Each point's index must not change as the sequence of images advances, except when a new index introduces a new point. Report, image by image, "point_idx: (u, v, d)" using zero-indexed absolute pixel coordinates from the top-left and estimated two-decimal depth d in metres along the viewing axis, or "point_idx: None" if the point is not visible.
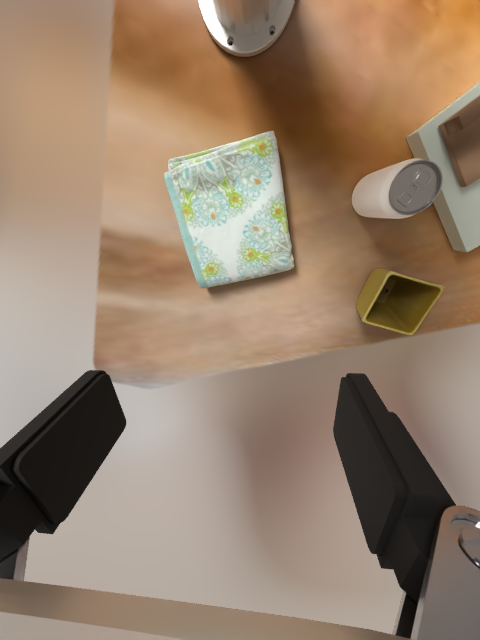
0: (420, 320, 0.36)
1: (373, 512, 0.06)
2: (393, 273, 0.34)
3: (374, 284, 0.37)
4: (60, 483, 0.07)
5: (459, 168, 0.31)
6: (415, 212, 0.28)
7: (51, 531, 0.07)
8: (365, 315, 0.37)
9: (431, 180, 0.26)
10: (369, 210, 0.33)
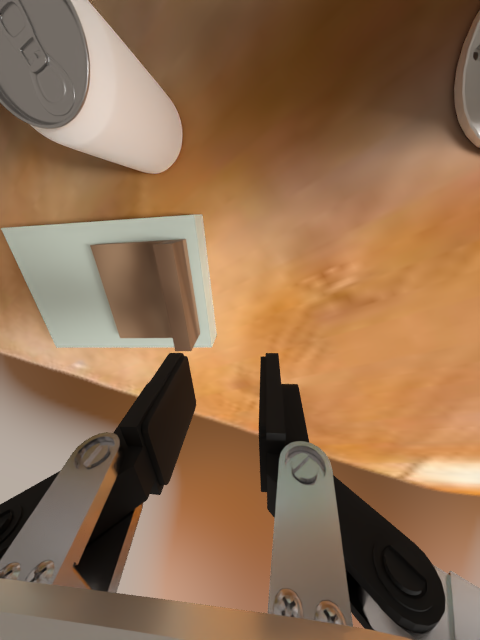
0: None
1: None
2: None
3: None
4: (166, 449, 0.08)
5: (118, 243, 0.21)
6: None
7: (158, 492, 0.08)
8: None
9: (42, 106, 0.11)
10: None
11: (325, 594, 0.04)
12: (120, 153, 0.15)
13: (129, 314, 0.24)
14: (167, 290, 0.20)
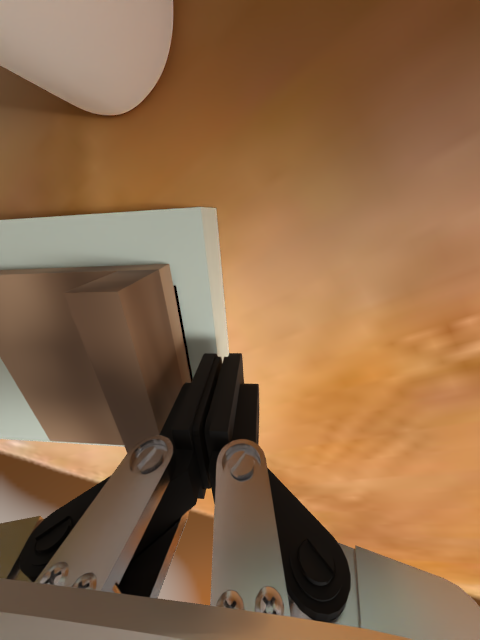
0: None
1: None
2: None
3: None
4: None
5: (14, 273, 0.09)
6: None
7: (201, 496, 0.08)
8: None
9: None
10: None
11: (263, 581, 0.04)
12: None
13: (60, 406, 0.12)
14: (118, 399, 0.08)
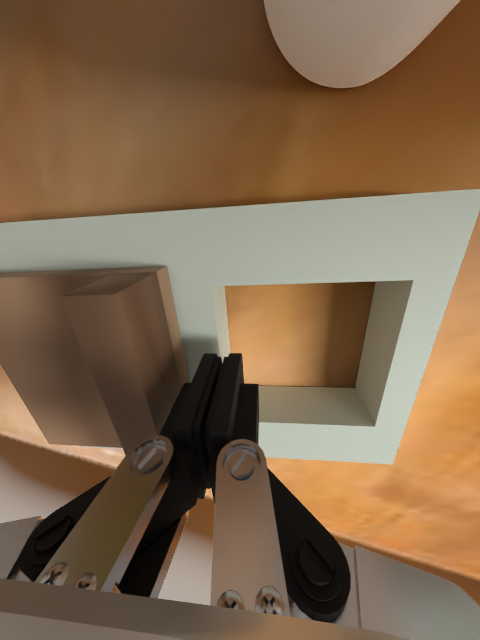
0: None
1: None
2: None
3: None
4: None
5: (11, 276, 0.09)
6: None
7: (201, 496, 0.08)
8: None
9: None
10: None
11: (263, 581, 0.04)
12: None
13: (59, 409, 0.12)
14: (115, 402, 0.08)
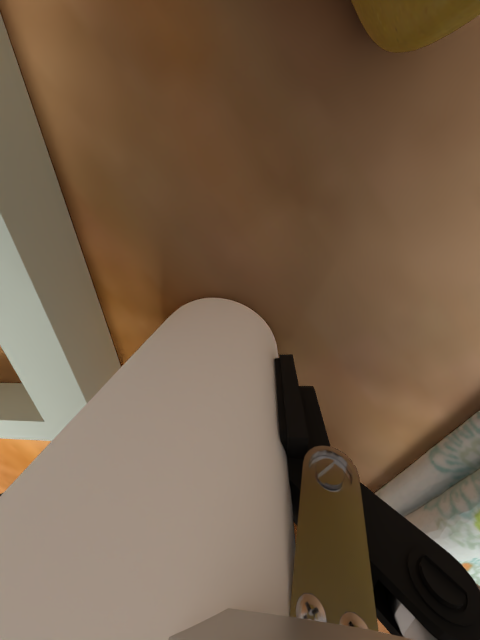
0: None
1: None
2: None
3: None
4: None
5: None
6: None
7: None
8: None
9: None
10: None
11: (350, 605, 0.03)
12: None
13: None
14: None
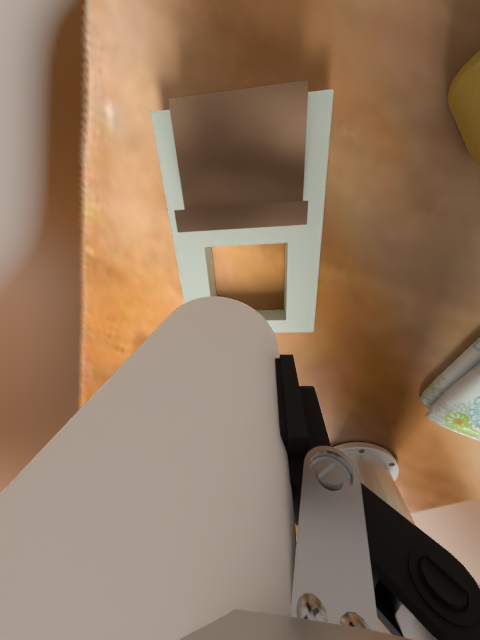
0: None
1: None
2: None
3: None
4: None
5: (305, 132, 0.17)
6: None
7: None
8: None
9: None
10: None
11: (351, 606, 0.03)
12: None
13: (209, 127, 0.17)
14: (255, 211, 0.17)
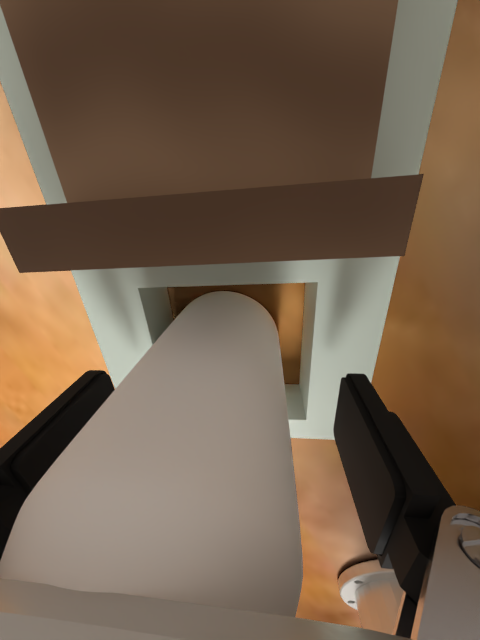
0: None
1: (373, 512, 0.06)
2: None
3: None
4: None
5: None
6: None
7: None
8: None
9: None
10: None
11: None
12: None
13: None
14: (235, 212, 0.05)
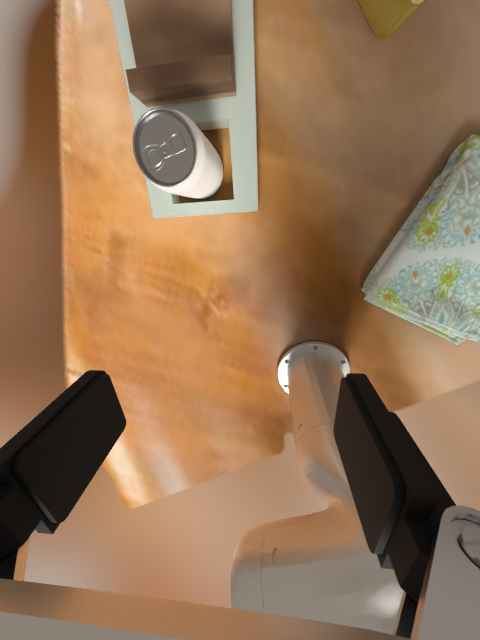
0: None
1: (373, 512, 0.06)
2: None
3: None
4: (60, 483, 0.07)
5: (230, 2, 0.21)
6: (169, 111, 0.19)
7: (51, 531, 0.07)
8: None
9: (144, 147, 0.20)
10: (213, 155, 0.24)
11: None
12: None
13: (153, 0, 0.21)
14: (189, 66, 0.21)
